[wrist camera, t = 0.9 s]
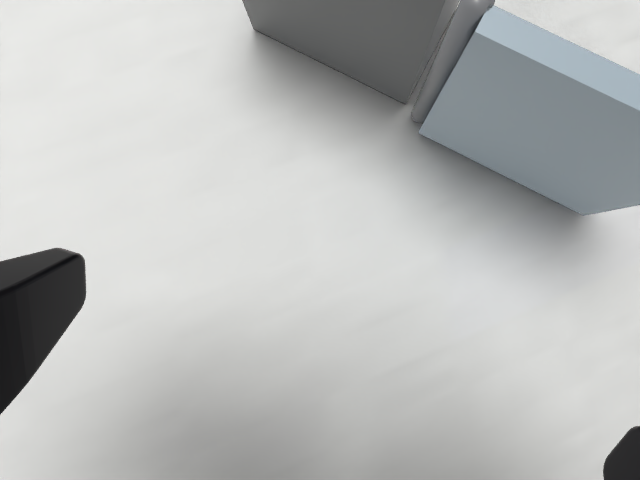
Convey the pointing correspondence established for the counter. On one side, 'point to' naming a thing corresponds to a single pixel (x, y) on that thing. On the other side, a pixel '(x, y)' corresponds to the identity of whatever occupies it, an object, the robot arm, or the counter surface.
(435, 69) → the side door
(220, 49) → the counter surface
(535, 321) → the counter surface
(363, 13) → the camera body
